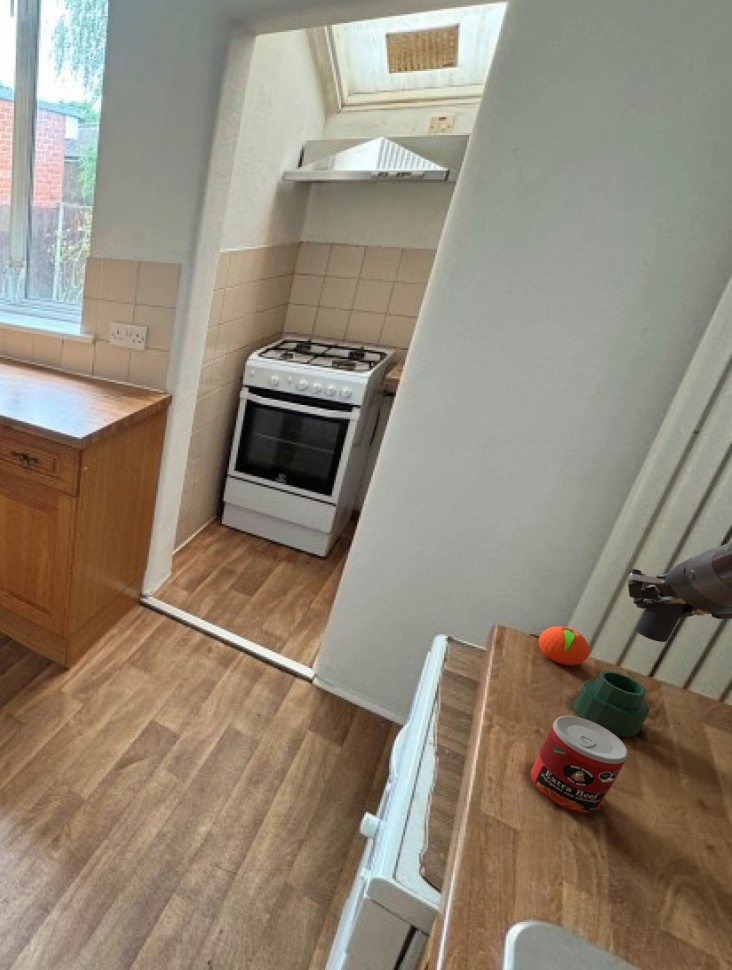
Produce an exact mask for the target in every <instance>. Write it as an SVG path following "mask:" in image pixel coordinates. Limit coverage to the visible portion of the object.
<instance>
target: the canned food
mask: <svg viewBox="0 0 732 970" xmlns="http://www.w3.org/2000/svg"><path fill="white" fill-rule="evenodd" d="M628 755H629V750H628V749H627V746H626V745H625V743H624V742H623V741H622V740H621V739H620V738H619V737H618V735H615V734H613V733H611V732H610V731H608V730H607V729H605V728H603V727H602V726H600V725H598V724H596V723H594V722H591V721H589V720H586V719H584V718H582V717H579V716H573V715H562V716H558V717H557V718H556V719H555V720H554V722H553V724H552V725H551V727H550V729H549V731H548V734H547V736H546V738H545V740H544V742H543V744H542V746H541V748H540V750H539V752H538V755H537V757H536V759H535V761H534V763H533V765H532V768H531V770H530V778H531V781H532V783H533V785H534V787H535V788H536V789H537V790H538V791H539V792H540V793H541V794H542V795H543V796H544V797H545V798H547V799H548V800H550V802H552V803H554V804H556V806H557V805H558V806H559V807H562V808H563V809H565V810H568V811H570V812H574V813H577V814H592V813H594V812H596V811H598V810H599V809H600V807H601V805H602V804H603V802H604V800H605V798H606V797H607V795H608V793H609V791H610V789H611V788H612V787H613V784H614V782H615V781H616V779H617V777H618V775H619V773H620V772H621V770H622V768H623V766H624V764H625V762H626V761H627V758H628Z"/></svg>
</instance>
